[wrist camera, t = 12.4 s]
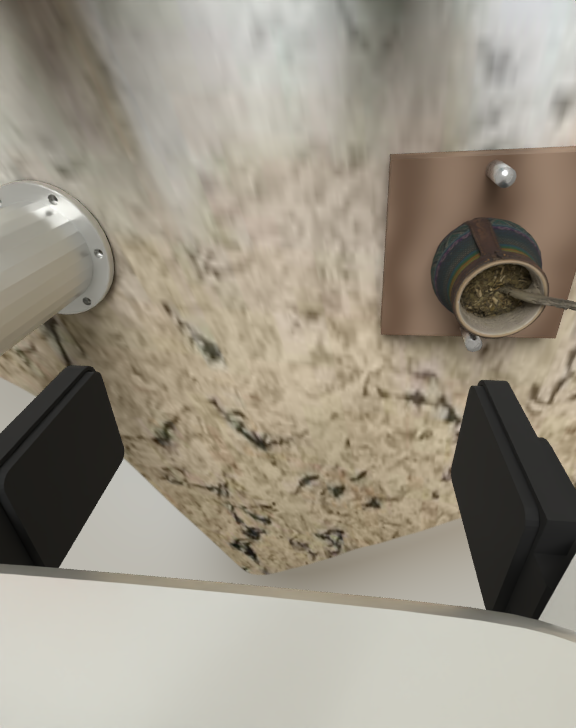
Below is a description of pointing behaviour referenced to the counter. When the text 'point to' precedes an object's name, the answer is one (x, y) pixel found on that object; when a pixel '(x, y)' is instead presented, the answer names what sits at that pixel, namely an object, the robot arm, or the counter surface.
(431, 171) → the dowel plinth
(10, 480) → the robot arm
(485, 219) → the mate gourd
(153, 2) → the counter surface
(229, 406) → the counter surface
